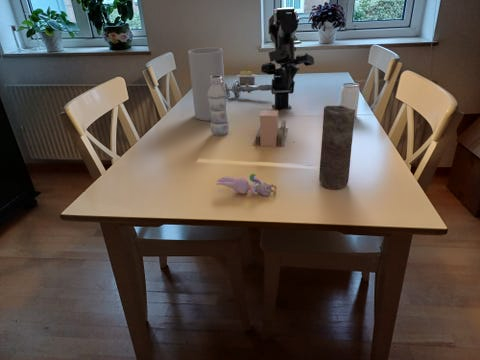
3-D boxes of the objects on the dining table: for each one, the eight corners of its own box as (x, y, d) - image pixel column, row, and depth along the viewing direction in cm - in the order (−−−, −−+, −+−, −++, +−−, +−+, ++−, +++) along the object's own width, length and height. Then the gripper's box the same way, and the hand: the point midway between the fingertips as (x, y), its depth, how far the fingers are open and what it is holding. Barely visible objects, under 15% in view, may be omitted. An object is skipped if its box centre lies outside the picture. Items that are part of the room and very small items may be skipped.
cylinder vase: (232, 114, 141) (229, 49, 129) (210, 123, 133) (204, 54, 121) (211, 109, 149) (206, 46, 136) (188, 117, 141) (181, 51, 129)
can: (357, 119, 131) (361, 87, 125) (339, 118, 132) (342, 87, 126) (355, 113, 136) (359, 82, 130) (338, 113, 138) (341, 82, 132)
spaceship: (270, 85, 149) (274, 73, 153) (197, 89, 162) (203, 78, 167) (273, 100, 154) (277, 88, 159) (203, 102, 168) (209, 92, 172)
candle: (315, 176, 94) (320, 103, 84) (341, 174, 94) (350, 101, 85) (323, 191, 87) (330, 113, 78) (352, 189, 88) (362, 111, 78)
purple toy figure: (275, 192, 91) (218, 182, 92) (279, 172, 88) (220, 161, 89) (273, 205, 85) (213, 194, 86) (278, 184, 82) (215, 173, 83)
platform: (233, 81, 191) (233, 69, 188) (266, 82, 187) (266, 69, 184) (228, 87, 181) (227, 74, 178) (262, 87, 177) (262, 74, 174)
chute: (260, 129, 126) (260, 119, 124) (288, 130, 124) (288, 120, 122) (252, 147, 112) (252, 136, 110) (284, 149, 110) (284, 137, 108)
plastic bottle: (232, 132, 125) (229, 74, 115) (225, 139, 119) (221, 79, 109) (215, 130, 127) (210, 74, 117) (207, 137, 121) (202, 78, 111)
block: (262, 139, 116) (262, 110, 111) (277, 140, 115) (278, 110, 110) (260, 145, 111) (260, 115, 106) (276, 146, 110) (276, 116, 105)
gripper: (251, 45, 124) (252, 89, 124) (298, 30, 112) (299, 79, 113) (268, 52, 132) (270, 94, 133) (314, 40, 121) (315, 85, 121)
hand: (287, 88), depth 125 cm, fingers closed
